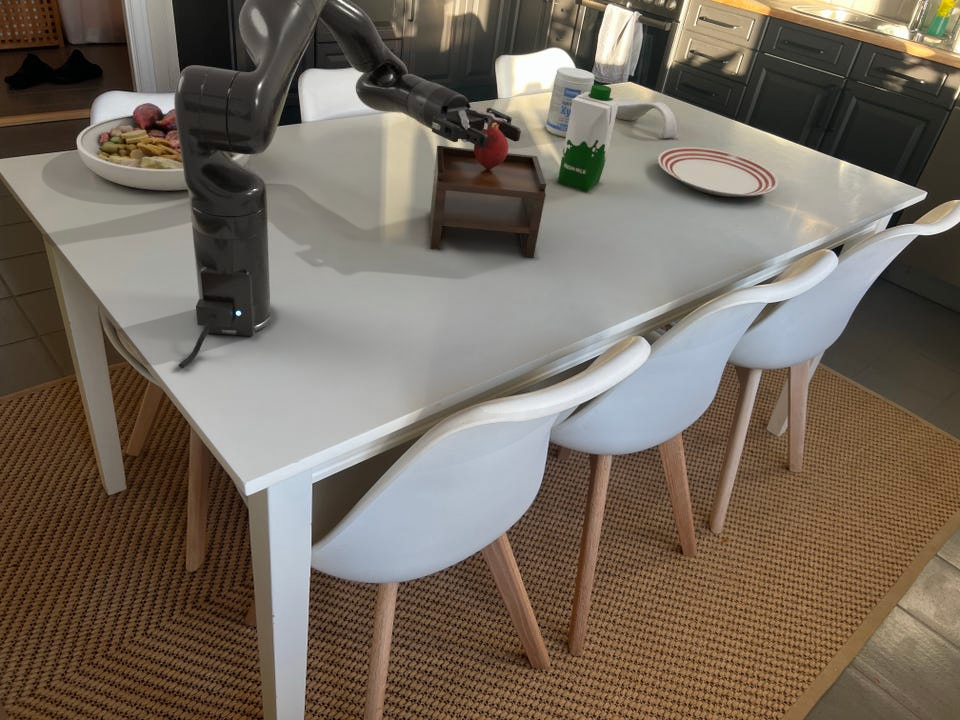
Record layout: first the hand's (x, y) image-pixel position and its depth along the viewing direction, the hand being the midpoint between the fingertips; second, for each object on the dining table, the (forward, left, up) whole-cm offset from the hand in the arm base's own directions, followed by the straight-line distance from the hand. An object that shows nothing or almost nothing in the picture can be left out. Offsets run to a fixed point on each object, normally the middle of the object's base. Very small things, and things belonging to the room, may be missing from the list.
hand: (502, 138), depth 125 cm
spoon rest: (+79, -47, -18) cm, 93 cm away
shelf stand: (+1, +1, -18) cm, 18 cm away
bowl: (+18, +60, -18) cm, 65 cm away
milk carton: (+31, -22, -18) cm, 42 cm away
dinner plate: (+41, -56, -18) cm, 71 cm away
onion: (+2, +1, -6) cm, 7 cm away
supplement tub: (+65, -24, -18) cm, 71 cm away
